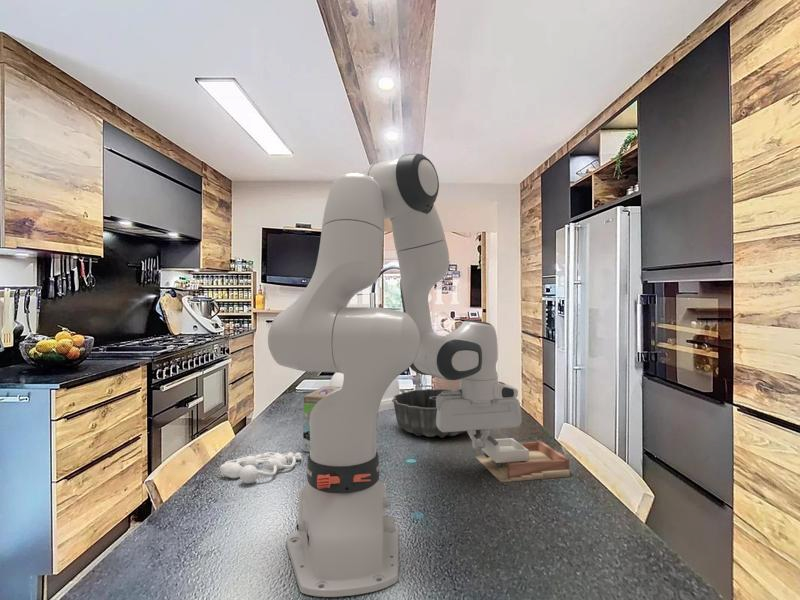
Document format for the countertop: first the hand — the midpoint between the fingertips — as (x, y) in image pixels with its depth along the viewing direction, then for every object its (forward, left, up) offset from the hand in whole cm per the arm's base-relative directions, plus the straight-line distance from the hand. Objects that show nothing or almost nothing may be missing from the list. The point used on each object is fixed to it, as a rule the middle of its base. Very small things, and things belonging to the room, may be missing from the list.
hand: (478, 447), depth 110 cm
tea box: (+24, +34, -5) cm, 42 cm away
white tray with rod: (-1, -6, -4) cm, 7 cm away
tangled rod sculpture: (+9, +50, -6) cm, 52 cm away
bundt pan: (+32, +2, -5) cm, 33 cm away
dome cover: (+72, +19, -6) cm, 74 cm away
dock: (-1, -10, -5) cm, 12 cm away
